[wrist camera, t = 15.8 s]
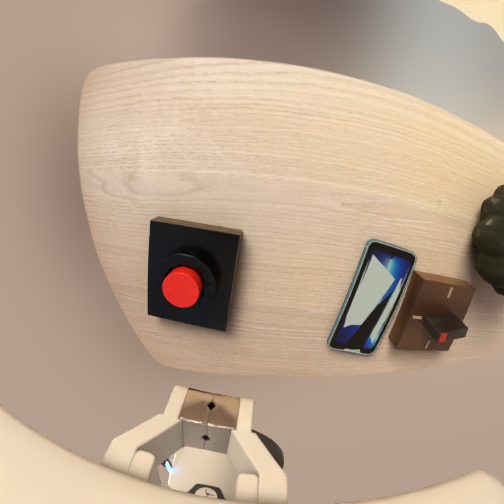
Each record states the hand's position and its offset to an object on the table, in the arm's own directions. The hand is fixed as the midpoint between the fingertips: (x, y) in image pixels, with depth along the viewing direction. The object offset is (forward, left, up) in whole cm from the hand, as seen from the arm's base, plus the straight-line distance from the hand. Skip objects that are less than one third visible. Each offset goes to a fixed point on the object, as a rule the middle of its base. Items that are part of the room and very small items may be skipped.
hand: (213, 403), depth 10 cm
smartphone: (-5, -16, -23) cm, 28 cm away
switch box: (-5, +6, -23) cm, 25 cm away
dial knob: (-5, -26, -20) cm, 33 cm away
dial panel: (-5, -26, -23) cm, 35 cm away
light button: (-5, +6, -20) cm, 21 cm away
